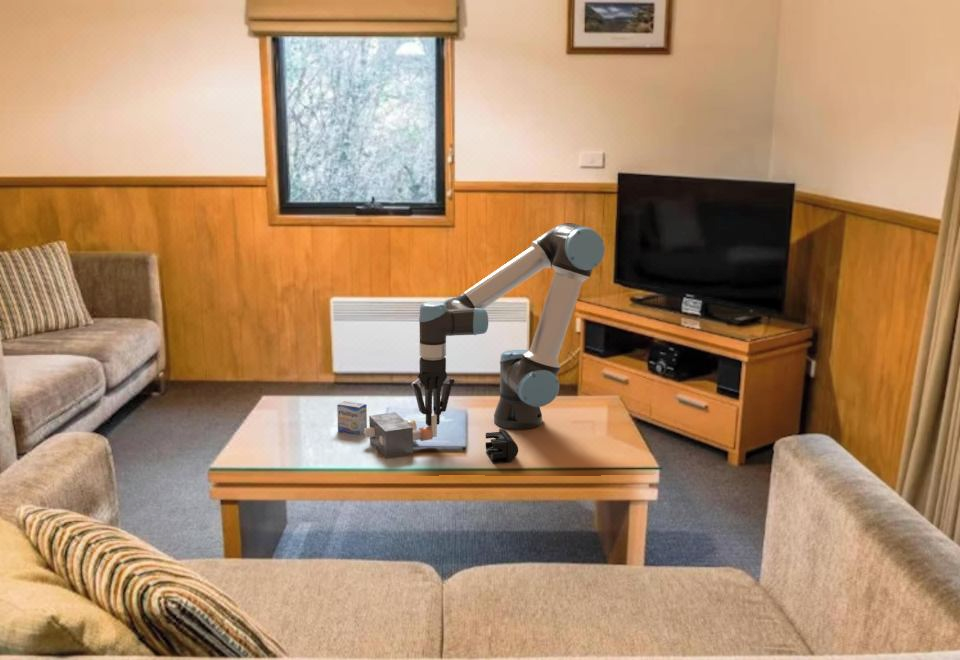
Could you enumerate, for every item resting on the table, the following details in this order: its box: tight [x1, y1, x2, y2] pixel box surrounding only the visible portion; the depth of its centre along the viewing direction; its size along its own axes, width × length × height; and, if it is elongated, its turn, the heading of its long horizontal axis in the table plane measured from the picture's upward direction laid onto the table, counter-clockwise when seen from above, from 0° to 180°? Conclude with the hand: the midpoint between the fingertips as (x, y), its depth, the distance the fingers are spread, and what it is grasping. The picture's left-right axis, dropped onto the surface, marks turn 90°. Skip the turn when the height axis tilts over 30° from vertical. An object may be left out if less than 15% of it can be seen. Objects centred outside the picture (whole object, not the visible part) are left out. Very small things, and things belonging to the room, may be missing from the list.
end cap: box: [485, 428, 519, 465], centre depth 240 cm, size 10×7×7 cm
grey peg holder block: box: [368, 411, 414, 459], centre depth 246 cm, size 8×14×8 cm, turn 25°
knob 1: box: [363, 419, 418, 439], centre depth 250 cm, size 15×4×4 cm, turn 115°
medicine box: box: [336, 400, 368, 436], centre depth 259 cm, size 8×4×9 cm, turn 68°
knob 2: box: [379, 426, 434, 445], centre depth 244 cm, size 15×4×4 cm, turn 115°
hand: (432, 435), depth 248 cm, fingers closed
